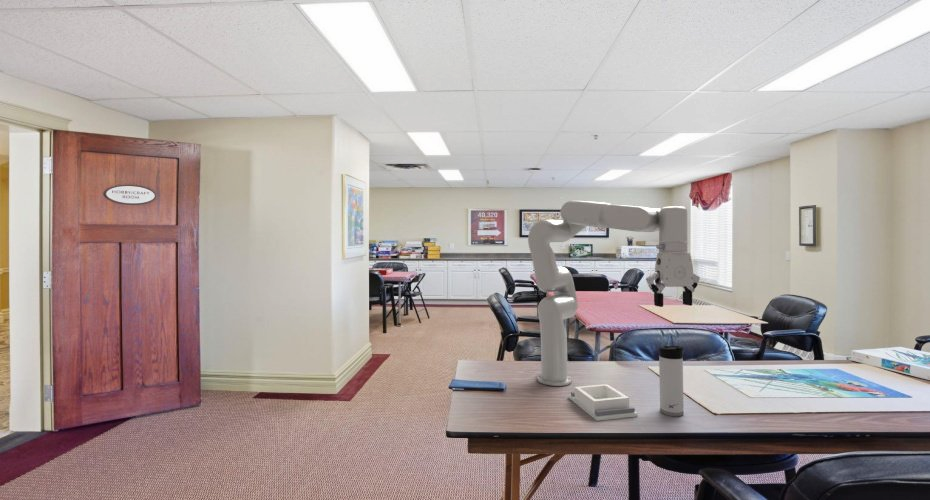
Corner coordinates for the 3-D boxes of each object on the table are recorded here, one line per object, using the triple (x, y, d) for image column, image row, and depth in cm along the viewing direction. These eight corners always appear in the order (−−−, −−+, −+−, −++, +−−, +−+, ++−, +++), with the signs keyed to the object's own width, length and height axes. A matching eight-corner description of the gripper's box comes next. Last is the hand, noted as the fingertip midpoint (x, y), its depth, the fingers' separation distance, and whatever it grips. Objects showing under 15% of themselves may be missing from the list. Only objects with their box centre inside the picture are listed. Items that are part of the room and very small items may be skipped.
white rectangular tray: (568, 397, 133) (568, 384, 133) (604, 394, 135) (604, 381, 135) (596, 420, 115) (596, 405, 115) (637, 416, 118) (637, 400, 117)
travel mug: (675, 418, 115) (674, 349, 115) (655, 410, 121) (654, 344, 121) (689, 414, 118) (688, 346, 118) (668, 406, 124) (667, 341, 124)
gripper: (655, 248, 114) (655, 308, 115) (708, 248, 118) (708, 306, 118) (639, 248, 122) (639, 304, 122) (689, 247, 125) (689, 302, 125)
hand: (673, 305), depth 120 cm, fingers open, 9 cm apart
